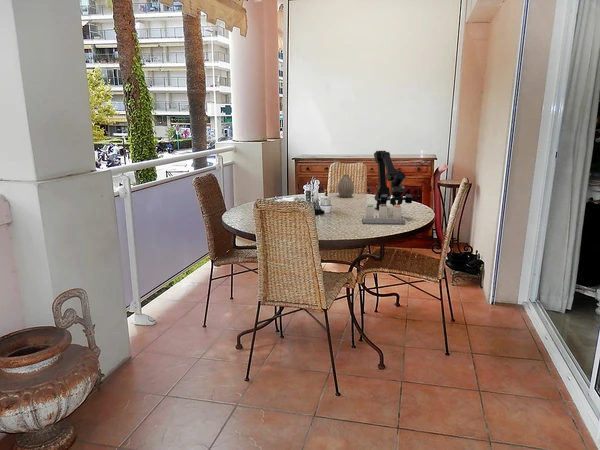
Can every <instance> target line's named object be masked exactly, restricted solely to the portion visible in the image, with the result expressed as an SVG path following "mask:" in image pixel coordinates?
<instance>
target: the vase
mask: <svg viewBox="0 0 600 450" xmlns="http://www.w3.org/2000/svg"><path fill="white" fill-rule="evenodd" d="M342 175H343V176H342V177H341V178H340V180H339V181H338V183H337V187H336V189H337V193H338V195H339V196H340V197H341V198H343V197H349V198H351V197H352V196H353V194H354V192H355V184H354V181H353V180H352V178H351V177H350V175H349V174H347V173H346V174H342Z"/></svg>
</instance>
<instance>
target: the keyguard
mask: <svg viewBox="0 0 600 450" xmlns="http://www.w3.org/2000/svg"><path fill="white" fill-rule="evenodd" d="M374 216H375V217H374V218H366V217H365V215H362V218H363V222H362V224H363V223H405V224H406V220H407V219H406V218H404V215H401V219H398V218H393V217H391V215H389V216H388V217H387V218H379V217H378V216H377V215H374Z"/></svg>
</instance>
